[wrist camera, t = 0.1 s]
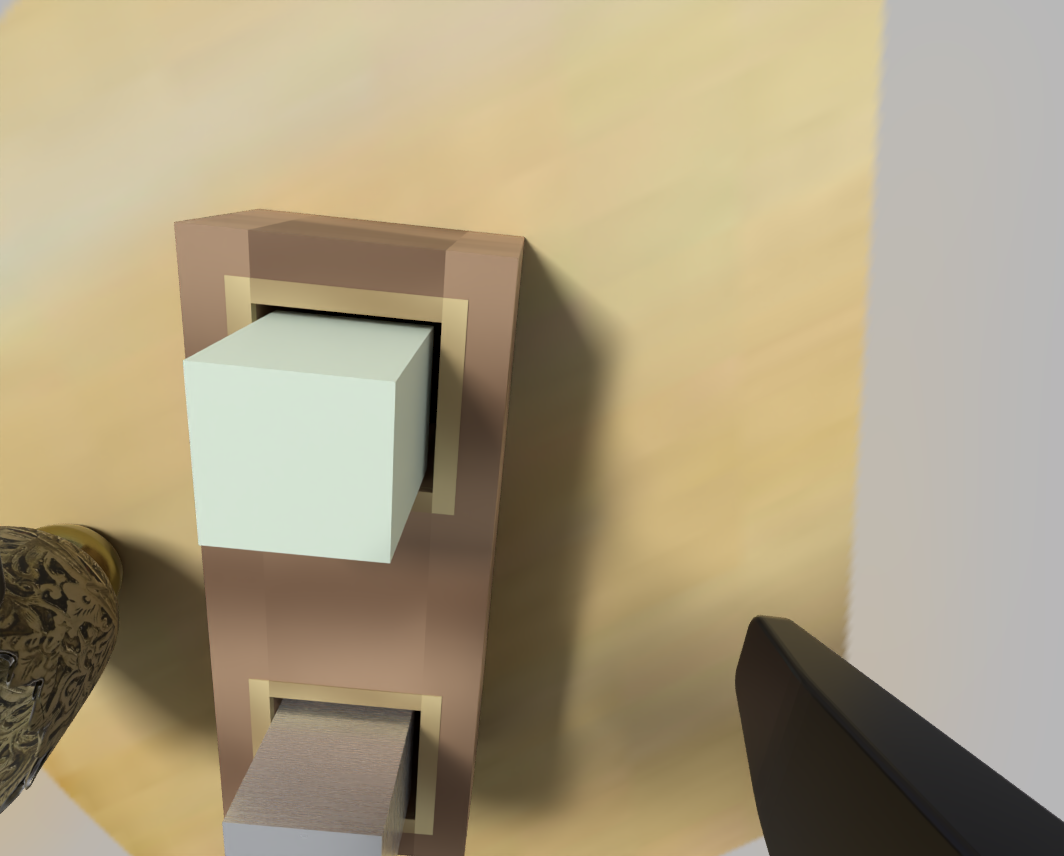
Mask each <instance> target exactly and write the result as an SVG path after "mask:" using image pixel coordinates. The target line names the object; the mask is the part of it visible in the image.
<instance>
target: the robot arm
mask: <svg viewBox="0 0 1064 856" xmlns="http://www.w3.org/2000/svg"><path fill="white" fill-rule="evenodd" d="M5 590H6V584H5V578H4V572H3V566H2V561H1V555H0V606H1V604H2V601H3V599H4V596H5ZM735 689H736V695H737V701H738V707H739V712H740V718H741V724H742V729H743V735H744V741H745V746H746V752H747V758H748V763H749V769H750V775H751V780H752V786H753V792H754V797H755V801H756V806H757V811H758V815H759V819H760V823H761V827H762V831H763V834H764V838H765V841H766V845H767V848H768V852H769V855H770V856H1064V822H1063V821H1062V820H1061V819H1059V818H1058V817H1057V816H1055V815H1054V814H1052V813H1051V812H1050V811H1048V810H1047V809H1046V808H1044V807H1043V806H1041V805H1040V804H1039V803H1038V802H1036V801H1035V800H1034V799H1032V798H1031V797H1029V796H1028V795H1027V794H1025V793H1024V792H1023V791H1021V790H1020V789H1019V788H1017V787H1016V786H1015V785H1013V784H1012V783H1010V782H1009V781H1008V780H1007V779H1005V778H1004V777H1002V776H1001V775H1000V774H998V773H997V772H995V771H994V770H993V769H991V768H990V767H989V766H988V765H986V764H985V763H983V762H982V761H981V760H979V759H978V758H977V757H975V756H974V755H973V754H971V753H970V752H969V751H967V750H966V749H965V748H963V747H961V745H959V744H958V743H956V742H955V741H954V740H952V739H951V738H949V737H948V736H947V735H946V734H944V733H943V732H942V731H940V730H939V729H937V728H936V727H935V726H933V725H932V724H931V723H929V722H928V721H927V720H925V719H924V718H923V717H921V716H920V715H919V714H917V713H916V712H915V711H913V710H912V709H910V708H909V707H908V706H906V705H905V704H904V703H902V702H901V701H900V700H898V699H897V698H896V697H894V696H893V695H892V694H890V693H889V692H887V691H886V690H885V689H883V688H882V687H881V686H879V685H878V684H877V683H875V682H874V681H873V680H871V679H870V678H869V677H867V676H866V675H864V674H863V673H862V672H860V671H859V670H858V669H856V668H855V667H854V666H852V665H851V664H850V663H848V662H847V661H846V660H844V659H843V658H841V657H840V656H839V655H837V654H836V653H835V652H833V651H832V650H831V649H829V648H828V647H827V646H825V645H824V644H823V643H821V642H820V641H819V640H817V639H816V638H814V637H813V636H812V635H810V634H809V633H808V632H806V631H805V630H804V629H802V628H801V627H800V626H798V625H797V624H796V623H794V622H793V621H791V620H790V619H787V618H781V617H772V616H763V615H758V616H756V617H754V618H753V619H752V621H751V622H750V624H749V627H748V630H747V634H746V637H745V641H744V644H743V648H742V651H741V655H740V658H739V662H738V665H737V669H736V675H735Z"/></svg>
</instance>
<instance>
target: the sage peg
mask: <svg viewBox="0 0 1064 856" xmlns="http://www.w3.org/2000/svg"><path fill="white" fill-rule="evenodd" d="M433 337H434V326H429V325H419V324H409V323H400V322H390V321H380V320H370V319H361V318H351V317H341V316H331V315H322V314H312V313H302V312H293V311H283V310H275V311H273V312H271V313H270V314H268V315H266V316H264V317H262V318H260V319H258V320H257V321H255V322H253V323H251V324H249V325H247V326H246V327H244V328H242V329H240V330H238V331H236V332H234V333H233V334H231V335H229V336H227V337H225V338H223V339H222V340H220V341H218V342H216V343H214V344H212V345H210V346H209V347H207V348H205V349H203V350H201V351H199V352H197V353H196V354H194V355H192V356H190V357H188V358H186V359H185V360H183V368H184V380H185V391H186V403H187V415H188V426H189V438H190V450H191V461H192V473H193V485H194V496H195V508H196V520H197V532H198V543H199V545H203V546H213V547H224V548H234V549H245V550H255V551H265V552H276V553H286V554H297V555H307V556H317V557H328V558H338V559H349V560H359V561H369V562H380V563H390V562H391V560H392V557H393V555H394V552H395V550H396V547H397V544H398V542H399V539H400V537H401V534H402V532H403V529H404V526H405V524H406V521H407V519H408V516H409V514H410V511H411V509H412V506H413V503H414V501H415V498H416V496H417V493H418V491H419V488H420V485H421V483H422V480H423V478H424V475H425V473H426V470H427V458H428V438H429V418H430V398H431V377H432V357H433Z"/></svg>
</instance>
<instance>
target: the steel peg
mask: <svg viewBox="0 0 1064 856" xmlns="http://www.w3.org/2000/svg"><path fill="white" fill-rule="evenodd" d="M414 721H415V710H406V709H396V708H385V707H374V706H363V705H352V704H341V703H331V702H320V701H309V700H298V699H287V698H283V700H282V702H281V704H280V706H279V708H278V710H277V712H276V714H275V716H274V718H273V720H272V722H271V724H270V726H269V728H268V730H267V732H266V734H265V736H264V738H263V740H262V743H261V745H260V747H259V749H258V751H257V753H256V755H255V757H254V759H253V761H252V763H251V765H250V767H249V769H248V771H247V773H246V775H245V777H244V779H243V781H242V783H241V785H240V787H239V789H238V791H237V793H236V795H235V797H234V799H233V802H232V804H231V806H230V808H229V810H228V812H227V814H226V816H225V818H224V820H223V822H222V824H223V835H224V847H225V856H397V854H398V850H399V845H400V840H401V836H402V831H403V826H404V822H405V817H406V812H407V808H408V803H409V798H410V794H411V782H412V762H413V741H414Z"/></svg>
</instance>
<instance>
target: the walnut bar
mask: <svg viewBox="0 0 1064 856" xmlns="http://www.w3.org/2000/svg"><path fill="white" fill-rule="evenodd" d="M174 227H175V239H176V250H177V262H178V274H179V286H180V298H181V310H182V322H183V334H184V346H185V358H188V357H190V356H192V355H194V354H196V353H197V352H199V351H201V350H203V349H205V348H207V347H209V346H210V345H212V344H214V343H216V342H218V341H220V340H222V339H223V338H225V337H227V336H229V335H231V334H233V333H234V332H236V331H238V330H240V329H242V328H244V327H246V326H247V325H249V324H251V323H253V322H255V321H257V320H258V319H260V318H262V317H264V316H266V315H268V314H270V313H271V312H273V311H275V310H283V311H293V312H302V313H312V314H317V310H324V311H333V312H343V313H353V314H362V315H372V316H382V317H392V318H401V319H411V320H421V321H431V322H440V323H442V329H441V347H440V366H439V385H438V404H437V422H436V424H433V423H429V438H428V458H427V470H426V473H425V475H424V478H423V480H422V483H421V485H420V488H419V491H418V493H417V496H416V498H415V501H414V503H413V506H412V509H411V511H410V514H409V516H408V519H407V521H406V524H405V526H404V529H403V532H402V534H401V537H400V539H399V542H398V544H397V547H396V550H395V552H394V555H393V557H392V560H391V562H390V563H380V562H369V561H359V560H349V559H338V558H328V557H317V556H307V555H297V554H286V553H276V552H265V551H255V550H245V549H234V548H224V547H213V546H203V545H201V548H202V560H203V572H204V584H205V595H206V607H207V619H208V631H209V643H210V655H211V667H212V679H213V691H214V703H215V714H216V726H217V738H218V750H219V762H220V774H221V786H222V798H223V810H224V818H225V816H226V814H227V812H228V810H229V808H230V806H231V804H232V802H233V799H234V797H235V795H236V793H237V791H238V789H239V787H240V785H241V783H242V781H243V779H244V777H245V775H246V773H247V771H248V769H249V767H250V765H251V763H252V761H253V759H254V757H255V755H256V753H257V751H258V749H259V747H260V745H261V743H262V740H263V738H264V736H265V734H266V732H267V730H268V728H269V726H270V724H271V722H272V720H273V718H274V716H275V714H276V712H277V710H278V708H279V706H280V704H281V702H282V700H283V698H287V699H298V700H309V701H320V702H331V703H341V704H352V705H363V706H374V707H385V708H396V709H406V710H415V721H414V741H413V762H412V782H411V794H410V798H409V803H408V808H407V812H406V817H405V822H404V826H403V831H402V836H401V840H400V845H399V850H398V854H397V855H407V856H464V853H465V845H466V836H467V828H468V819H469V811H470V802H471V794H472V785H473V777H474V768H475V760H476V751H477V743H478V732H479V721H480V711H481V700H482V689H483V678H484V668H485V657H486V646H487V635H488V625H489V614H490V603H491V593H492V582H493V571H494V560H495V550H496V539H497V528H498V517H499V507H500V496H501V485H502V474H503V464H504V453H505V442H506V432H507V421H508V410H509V399H510V389H511V378H512V367H513V356H514V346H515V335H516V324H517V313H518V303H519V292H520V281H521V271H522V260H523V249H524V238H525V237H520V236H510V235H501V234H491V233H482V232H472V231H463V230H453V229H444V228H434V227H425V226H415V225H406V224H396V223H387V222H377V221H368V220H358V219H349V218H339V217H330V216H320V215H311V214H301V213H292V212H282V211H273V210H263V209H255V210H249V211H242V212H236V213H230V214H223V215H217V216H210V217H204V218H198V219H191V220H185V221H178V222H174Z"/></svg>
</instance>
